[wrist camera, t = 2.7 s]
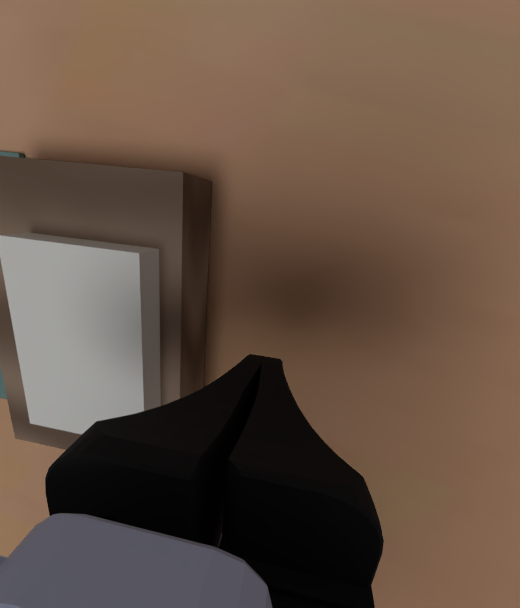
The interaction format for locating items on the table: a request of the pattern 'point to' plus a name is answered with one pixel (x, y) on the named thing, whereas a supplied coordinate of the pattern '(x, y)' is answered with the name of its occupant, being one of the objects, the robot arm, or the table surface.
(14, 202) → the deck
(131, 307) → the card
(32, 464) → the table surface
